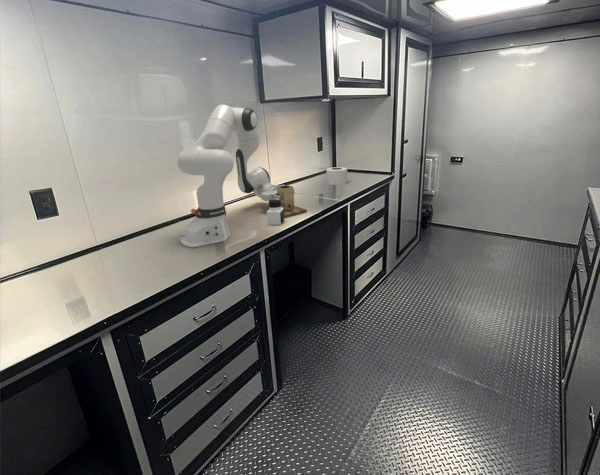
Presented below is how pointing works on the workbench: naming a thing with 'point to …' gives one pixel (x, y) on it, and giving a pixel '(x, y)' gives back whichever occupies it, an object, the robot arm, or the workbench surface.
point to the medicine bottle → (275, 213)
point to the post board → (293, 212)
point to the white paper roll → (336, 175)
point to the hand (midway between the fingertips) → (286, 196)
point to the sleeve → (286, 197)
